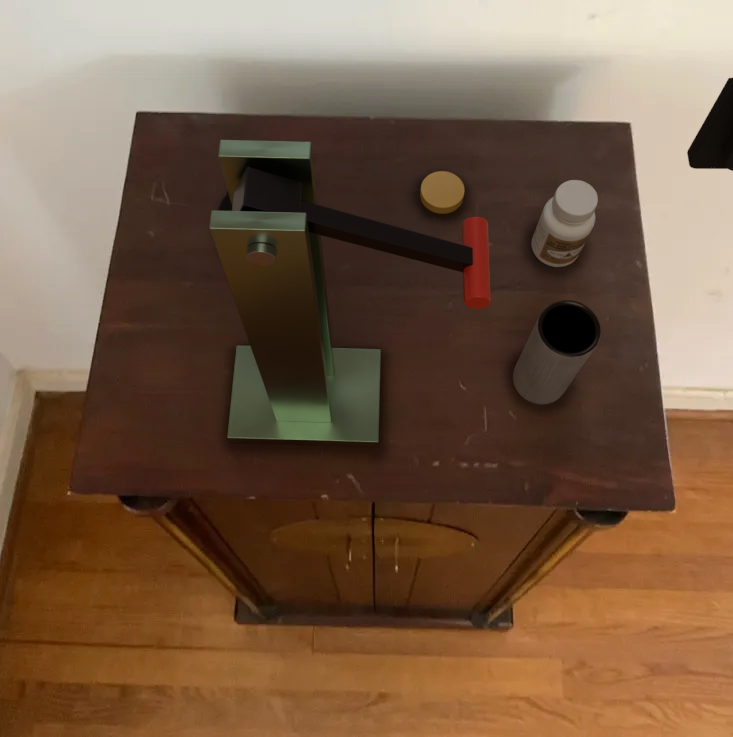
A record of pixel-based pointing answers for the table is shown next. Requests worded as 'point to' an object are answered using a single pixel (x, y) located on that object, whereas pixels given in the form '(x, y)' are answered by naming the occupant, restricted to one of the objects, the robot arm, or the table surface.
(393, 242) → the lever
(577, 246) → the pill bottle
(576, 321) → the planter
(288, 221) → the hand press
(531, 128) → the table surface
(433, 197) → the brass blank
